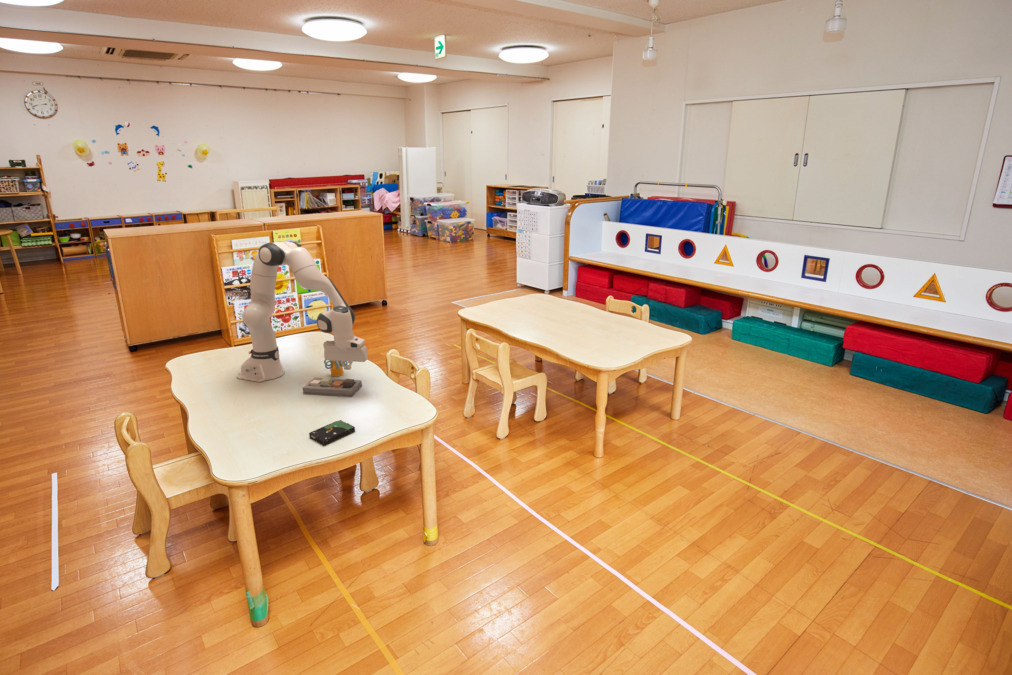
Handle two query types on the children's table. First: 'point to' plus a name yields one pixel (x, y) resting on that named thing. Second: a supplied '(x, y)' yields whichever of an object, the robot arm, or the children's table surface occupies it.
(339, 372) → the orange and blue toy
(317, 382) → the key white
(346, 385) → the key charcoal
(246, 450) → the children's table surface
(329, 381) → the key sage
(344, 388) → the keyboard
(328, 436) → the disk drive
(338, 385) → the key terracotta
